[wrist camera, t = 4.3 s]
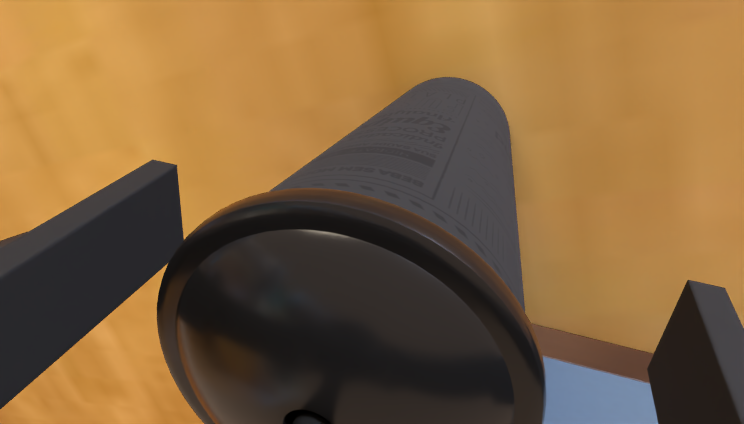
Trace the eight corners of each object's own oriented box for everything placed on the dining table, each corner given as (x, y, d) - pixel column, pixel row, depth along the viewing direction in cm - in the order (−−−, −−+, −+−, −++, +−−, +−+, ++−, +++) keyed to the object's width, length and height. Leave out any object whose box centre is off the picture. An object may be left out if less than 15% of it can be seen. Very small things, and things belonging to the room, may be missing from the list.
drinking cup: (367, 219, 25) (-33, 875, 8) (346, 45, 21) (-449, 532, 4) (544, 225, 22) (529, 1169, 5) (551, 32, 19) (571, 934, 2)
